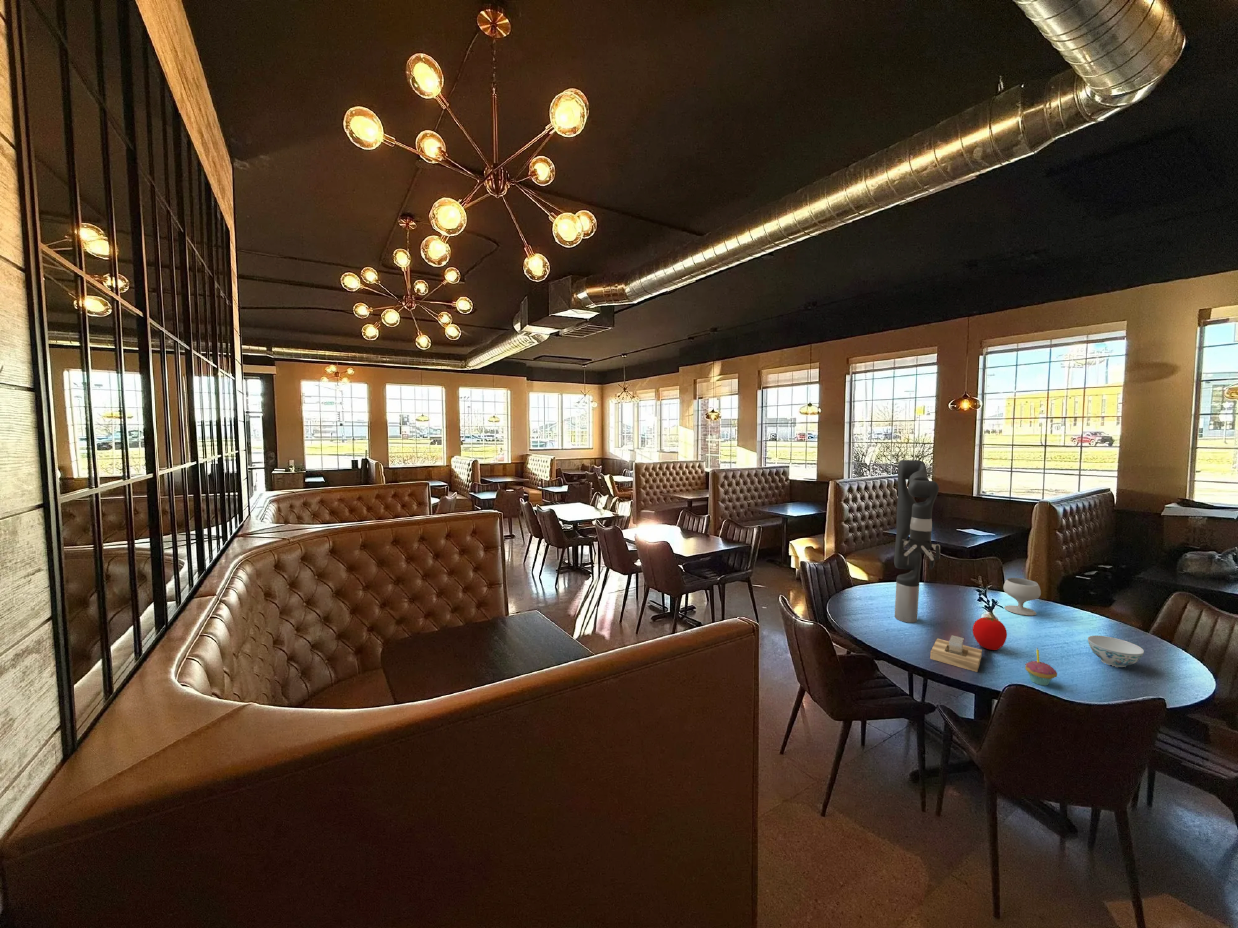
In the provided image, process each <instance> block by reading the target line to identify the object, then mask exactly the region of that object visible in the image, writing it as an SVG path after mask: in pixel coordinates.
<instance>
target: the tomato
mask: <svg viewBox="0 0 1238 928" xmlns="http://www.w3.org/2000/svg"><path fill="white" fill-rule="evenodd" d="M972 633H973V638H974V639H975V641H976V642H977V644H979V646H981V647H982V648H984V649H987V650H989V651H991V650H992V651H996V650H999V649H1001V648H1002V647H1003V646H1004V645H1005V643H1006V640H1007V637H1008V632H1007V628H1006V626H1005V625H1004V623H1002V621H1001V620H998V619H997V618H995V617H986V616H984V617H980V618H978V619H977V620H976V621H974V623H973V626H972Z"/></svg>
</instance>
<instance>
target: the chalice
mask: <svg viewBox="0 0 1238 928" xmlns="http://www.w3.org/2000/svg"><path fill="white" fill-rule="evenodd" d="M1002 589H1003V591H1004V592H1005V594H1007V595H1008V596H1010V597H1011V598H1013V599H1014V600H1015V601H1016V602H1017V605H1014V604H1013V605H1009V604H1007V605H1005V606H1004V609H1005V610H1006V611H1008V612H1010V613H1013V614H1017V615H1021V616H1028V617H1029V616H1030V617H1032V616H1036V615H1037V612H1036V611H1035V610H1033V609H1031V608H1028V607H1024V604H1025V603H1026V602H1030V601H1034V600H1038V599H1039V598H1040V597H1041V594H1042V591H1041V586H1040V585H1039V584H1038V582H1037V581H1033V580H1030V579H1027V578H1021V577H1008V578H1007V579H1006V580H1005V581H1004V584H1003V588H1002Z"/></svg>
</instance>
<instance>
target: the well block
mask: <svg viewBox="0 0 1238 928" xmlns="http://www.w3.org/2000/svg"><path fill="white" fill-rule="evenodd" d="M982 652H983V649H979V648H976V647H972V646H969V645H964V644H963V654H962V656H961V655H957V654H953V653H950V652H949V640H944V639H941V638H937V639H936V640H935V642H934V644H933V646H932V648H931V649H930V656H929V657H930V660H933V661H938V662H939V663H942V664H943V663H944V664H948V665H951V666H954V667H958V668H962V669H965V670H968V671H972V672H975V673H978V671H979V667H980V664H981V661H982V656H983V654H982Z"/></svg>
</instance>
